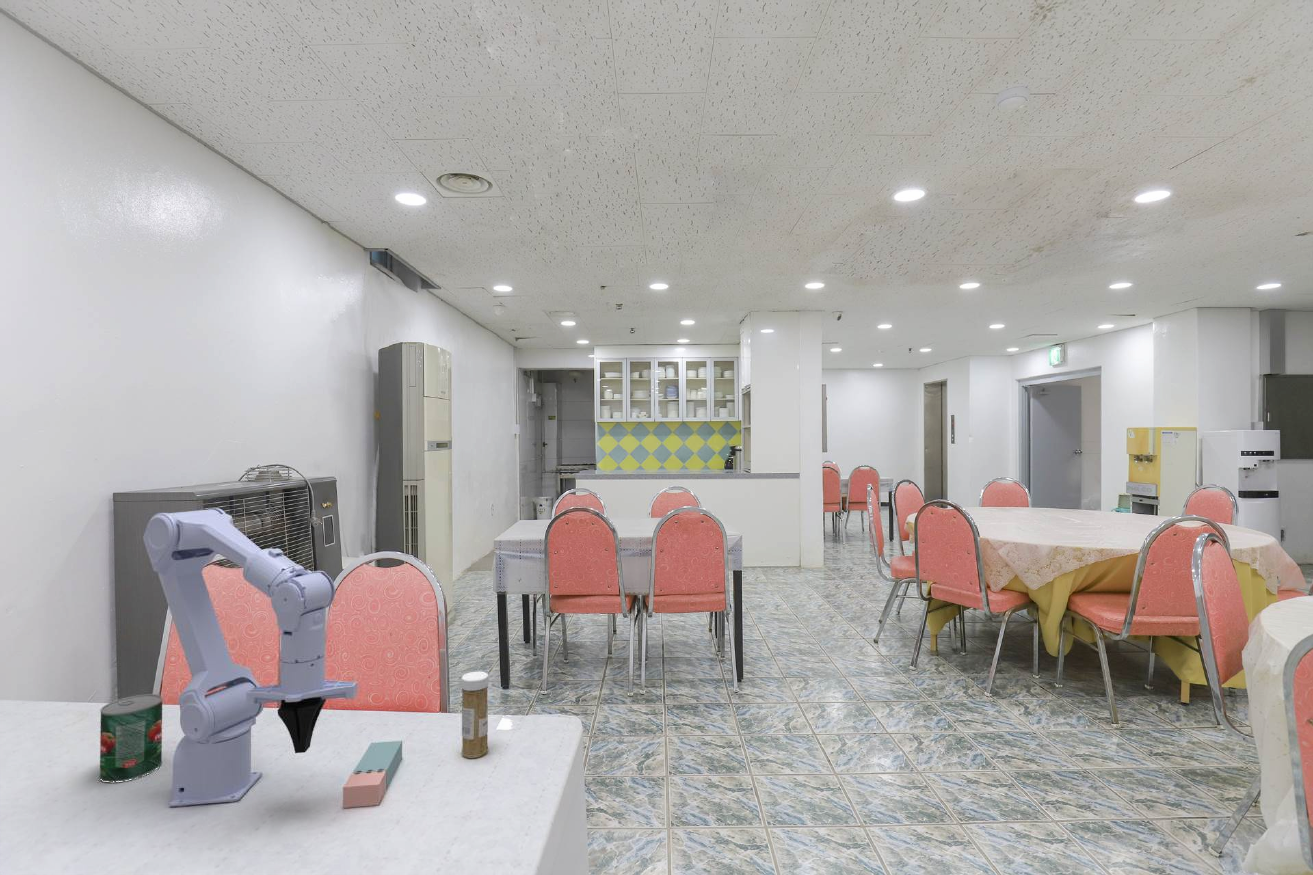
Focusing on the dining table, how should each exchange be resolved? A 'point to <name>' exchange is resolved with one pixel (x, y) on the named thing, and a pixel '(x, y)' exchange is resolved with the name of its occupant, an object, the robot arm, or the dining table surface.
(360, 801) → the stub
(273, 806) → the dining table surface
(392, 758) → the teal elongated prism
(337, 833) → the dining table surface
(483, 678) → the sprinkles bottle
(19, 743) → the dining table surface
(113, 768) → the canned tomato
